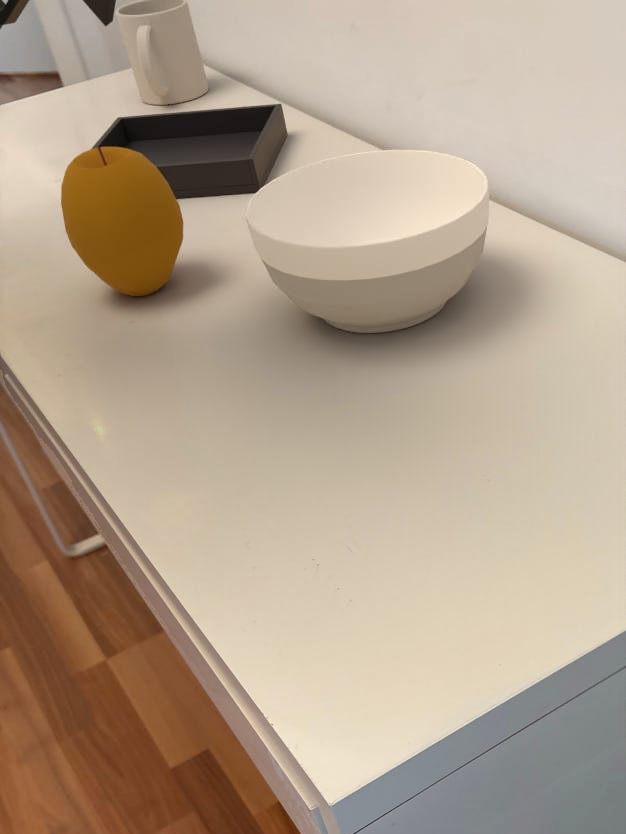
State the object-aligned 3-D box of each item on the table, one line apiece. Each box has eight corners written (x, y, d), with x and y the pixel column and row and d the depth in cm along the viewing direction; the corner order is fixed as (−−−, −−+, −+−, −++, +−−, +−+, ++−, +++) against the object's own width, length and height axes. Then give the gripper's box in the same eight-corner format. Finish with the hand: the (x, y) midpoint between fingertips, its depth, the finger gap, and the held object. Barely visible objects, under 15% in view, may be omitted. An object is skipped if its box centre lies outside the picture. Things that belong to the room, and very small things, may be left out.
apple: (223, 276, 87) (184, 136, 79) (138, 322, 82) (87, 178, 74) (154, 254, 92) (110, 120, 84) (69, 297, 87) (14, 158, 79)
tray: (81, 206, 102) (69, 173, 100) (127, 147, 114) (117, 117, 112) (260, 192, 101) (252, 158, 99) (287, 134, 113) (281, 103, 111)
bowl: (224, 333, 80) (193, 226, 73) (357, 239, 90) (340, 139, 84) (417, 379, 72) (400, 264, 66) (537, 271, 83) (532, 163, 77)
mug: (180, 80, 132) (157, -7, 125) (226, 88, 128) (204, -1, 121) (115, 104, 127) (87, 16, 120) (160, 114, 122) (134, 23, 115)
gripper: (-90, 69, 52) (-58, 205, 71) (237, -178, 58) (185, 9, 77) (-216, -62, 49) (-148, 116, 68) (140, -306, 55) (111, -79, 75)
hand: (28, 60), depth 73 cm, fingers open, 13 cm apart
